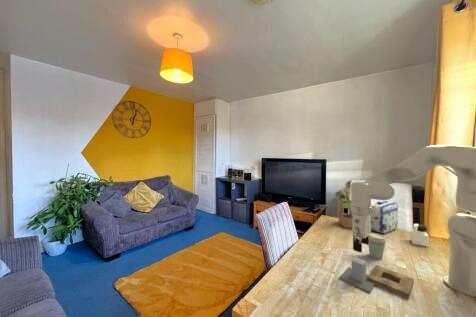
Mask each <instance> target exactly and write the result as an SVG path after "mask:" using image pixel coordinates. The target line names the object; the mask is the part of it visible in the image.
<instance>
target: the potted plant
mask: <svg viewBox="0 0 476 317" xmlns="http://www.w3.org/2000/svg"><path fill="white" fill-rule="evenodd" d="M345 192H346V193H345ZM334 195H335V196H336V197H339V196H341V195H343V197H344V198H341V199H340V201H341V202H342V201H343V203H342V204H341V207H343V208H344V209H348V210H349V211H348V213H346V212H345V213H341V214H340V216H339V218H338V222H339V225H341V226H342V227H344V228H346V229H350V230H352V221H353V213H352V212H351V196H350V194H349V189H348V188H346V191H344V190H342V189H339V191H337V192H336V193H335V194H334Z"/></svg>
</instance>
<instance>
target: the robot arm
mask: <svg viewBox="0 0 476 317" xmlns="http://www.w3.org/2000/svg"><path fill="white" fill-rule="evenodd" d="M437 167H450V168H451V169H452V170H453V171H454V173H455V174H456V177H457V185H456V192H455V205H456V206H457V208H459V209H461V210H462V211H465V212H468V213H472V214H475V215H476V147H475V146H465V145H464V146H463V145H457V144H456V145H454V144H443V145H442V144H436V145H435V144H434V145H433V144H432V145H429V146H425V147H423V148H421V149H420V150H418V151H416V152H415V153H414V154H413V155H411V156H409V157H408V158H406V159H405V160H403V161H402V162H400V163H399V164H395V165H392V166H390V167H388V168H385V169H382V170H380V171H378V172H376V173H375V174H373V175H371V176H370V177H369V178H367V179H366V180H365V181H354V182H352V183H351V184H350V200H351V212H352V213H353V221H352V229H351V231H352V232H351V233H352V250H353V251H355V252H358V253H362V251H363V250H362V247H363V246H362V245H366V246H367V245H368V244H369V236H368V235H369V234H370V233H372V230H371V224H370V215H371V205H372V200H379V201H389V200H391V199H393V197H394V196H395V188H394V187H393V186H392V185H391V184H395V183H400V182H402V183H403V182H409V181H414V180H417V179H419V178H421V177H422V176H424V175H425V174H426V173H428V172H430V171H431V170H433V169H435V168H437ZM475 215H471V214H467V213H461V212H460V213H454V214H452V215H450V216H449V217H448V220H447V228H448V231H449V239H450V241H449V256H448V258H449V259H448V260H449V261H448V275H445V276H443V280H442V281H443V282H444V284H445V285H447V286H448V287H449V288H451V289H453V290H455V291H457V292H459V293H461V294H464V295H466V296H469V297H474V298H476V216H475Z"/></svg>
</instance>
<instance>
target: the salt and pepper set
mask: <svg viewBox="0 0 476 317" xmlns="http://www.w3.org/2000/svg"><path fill="white" fill-rule="evenodd" d="M429 237H430V236H429V234H428V233H427V226H426V225H424V224H421V223H413V229H411V230H410V241H411V243H412V244H413V245H416V246H420V245H421V246H422V247H425V246H426V248H428V247H429V240H430V239H429Z"/></svg>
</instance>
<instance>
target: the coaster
mask: <svg viewBox="0 0 476 317" xmlns="http://www.w3.org/2000/svg"><path fill="white" fill-rule="evenodd" d="M351 273H352V267H349V266H348V267H347V268H346V269H345V270H344V272H342V274H341V275H340V276H338V280H340V281H342V280H343V281H342V282H344V281H345V282H344V283H347V284H349V285H351V286H353V287H355V288H356V289H359V290H361V291H364V292H366V293H368V294H371V293H372V290H373V289H374V288H375V286H376V285H375V283H374V282H372V281H370V280H367V277H368V275H369V274H367V273H366V279H365V280H364V282H363V283H362V282H360V281H357V280H355V279H353V278H351Z"/></svg>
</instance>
